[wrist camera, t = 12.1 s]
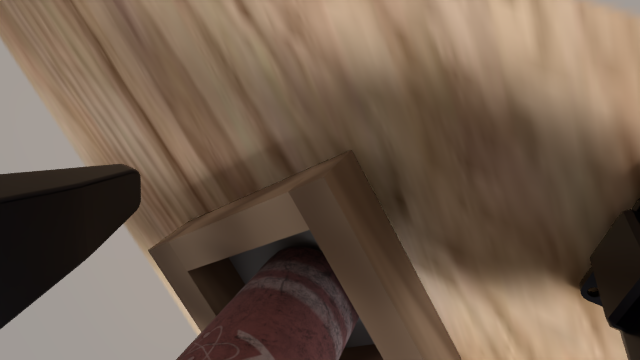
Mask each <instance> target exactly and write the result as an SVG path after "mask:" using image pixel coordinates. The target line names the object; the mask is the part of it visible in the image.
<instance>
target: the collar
mask: <svg viewBox="0 0 640 360" xmlns="http://www.w3.org/2000/svg"><path fill="white" fill-rule="evenodd" d="M290 247H312V248H315V249H318V250H321V251H322V252H323V254H324V256H325V257H326V259H327V261H328V263H329V264H330V266H331V268H332V270H333V271H334V273H335V275H336V277H337V278H338V280H339V282H340V284H341V285H342V287H343V289H344V291H345V293H346V294H347V296H348V298H349V300H350V301H351V303H352V305H353V307H354V308H355V310H356V312H357V314H358V315H359V319H358V321H357V323H356V325H355V327H354V329H353V331H352V333H351V335H350V337H349V339H348V341H347V343H346V345H345V348H344V350H343V352H342V354H341V356H340V358H339V360H461V357H460V355H459V353H458V351H457V350H456V348H455V346H454V344H453V342H452V340H451V338H450V336H449V334H448V332H447V331H446V329H445V327H444V325H443V323H442V321H441V319H440V317H439V315H438V313H437V312H436V310H435V308H434V306H433V304H432V302H431V300H430V298H429V296H428V294H427V293H426V291H425V289H424V287H423V285H422V283H421V281H420V279H419V277H418V276H417V274H416V272H415V270H414V268H413V266H412V264H411V262H410V260H409V258H408V257H407V255H406V253H405V251H404V249H403V247H402V245H401V243H400V241H399V239H398V238H397V236H396V234H395V232H394V230H393V228H392V226H391V224H390V222H389V220H388V219H387V217H386V215H385V213H384V211H383V209H382V207H381V205H380V203H379V202H378V200H377V198H376V196H375V194H374V192H373V190H372V188H371V186H370V184H369V183H368V181H367V179H366V177H365V175H364V173H363V171H362V169H361V167H360V165H359V164H358V162H357V160H356V158H355V156H354V154H353V152H352V150H350V151H348V152H345V153H343V154H341V155H339V156H336V157H334V158H332V159H330V160H327V161H325V162H323V163H321V164H318V165H316V166H314V167H311V168H309V169H307V170H305V171H302V172H300V173H298V174H296V175H293V176H291V177H289V178H287V179H284V180H282V181H280V182H277V183H275V184H273V185H271V186H268V187H266V188H264V189H262V190H259V191H257V192H255V193H253V194H250V195H248V196H246V197H243V198H241V199H239V200H237V201H234V202H232V203H230V204H228V205H225V206H223V207H221V208H219V209H216V210H214V211H212V212H209V213H207V214H205V215H203V216H200V217H198V218H196V219H194V220H191V221H189V222H187V223H186V224H184V225H183V226H181V227H180V228H179V229H177V230H176V231H174V232H173V233H172V234H170V235H169V236H167V237H166V238H165V239H163V240H162V241H160V242H159V243H158V244H156V245H155V246H153V247H152V248H151V249H149V250H148V251H149V253H150V254H151V256H152V257H153V259H154V260H155V262H156V263H157V265H158V266H159V268H160V270H161V271H162V273H163V274H164V276H165V277H166V279H167V280H168V282H169V283H170V285H171V286H172V288H173V289H174V291H175V292H176V294H177V295H178V297H179V298H180V300H181V301H182V303H183V305H184V306H185V308H186V309H187V311H188V312H189V314H190V315H191V317H192V318H193V320H194V321H195V323H196V324H197V326H198V327H199V329H200V330H201V332H202V331H203V330H204V329H205V328H206V327H207V326H208V325H209V324H210V323H211V321H212V320H213V319H214V318H215V317H216V316H217V315H218V314H219V313H220V312H221V311H222V310H223V309H224V307H225V306H226V305H227V304H228V303H229V302H230V301H231V300H232V299H233V298H234V297H235V296H236V294H237V293H238V292H239V291H240V290H241V289H242V288H243V287H244V286H245V285H246V284H247V283H248V281H249V280H250V279H251V278H252V277H253V276H254V275H255V274H256V273H257V272H258V271H259V270H260V268H261V267H262V266H263V265H264V264H265V263H266V262H267V261H268V260H269V259H270V258H271V257H272V256H273V255H274V254H276V253H277V252H278V251H280V250H283V249H286V248H290Z"/></svg>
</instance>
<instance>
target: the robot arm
mask: <svg viewBox="0 0 640 360" xmlns="http://www.w3.org/2000/svg"><path fill="white" fill-rule="evenodd" d="M140 202H141V181H140V174H139V172H138V171H137V170H136V169H134V168H131V167H129V166H127V165H124V164H113V165H102V166H90V167H79V168H68V169H56V170H45V171H33V172H21V173H10V174H0V329H1V328H2V327H4V326H5V325H6V324H7V323H8V322H10V321H11V320H12V319H13V318H15V317H16V316H17V315H18V314H20V313H21V312H22V311H23V310H24V309H26V308H27V307H28V306H29V305H31V304H32V303H33V302H34V301H36V300H37V299H38V298H39V297H41V296H42V295H43V294H44V293H46V292H47V291H48V290H49V289H50V288H52V287H53V286H54V285H55V284H57V283H58V282H59V281H60V280H62V279H63V278H64V277H65V276H66V275H68V274H69V273H70V272H71V271H73V270H74V269H75V268H76V267H78V266H79V265H80V264H81V263H82V262H83V261H85V260H86V259H87V258H88V257H89V256H90V255H91V254H92V253H94V252H95V250H97V249H98V248H99V247H100V246H101V245H102V244H103V243H104V242H105V241H106V240H107V239H108V238H109V237H110V236H111V235H112V234H113V233H114V232H115V231H116V230H117V229H118V228H119V227H120V226H121V225H122V224H123V223H124V222H125V221H126V220H127V219H128V218H129V217H130V216H131V215H132V214H133V213H134V212H135V211H136V210H137V209H138V207H139V205H140ZM590 261H591V265H592V267H591V268H590V269H589V271H588V272H587V274H586V275H585V276H584V278H583V279H582V281H581V282H580V285H579V286H580V291H581V295H582V296H583V298H585V299H586V300H588V301H590V302H593V303H595V304H598V305H600V306H602V307H603V309H604V313H605V317H606V319H607V322H608V324H609V326H610V327H612V328H614V329H616V330H619V331H620V333H621V337H622V340H623V344H624V347H625V350H626V354H627V357H628V360H640V198H639V200H638V201H637V203H636V204H635V206H634V207H633V208H632V209H629V210H626V211H623V212H621V214H620V215H619V217H618V218H617V220H616V221H615V222H614V224H613V225H612V227H611V228H610V230H609V231H608V233H607V234H606V235H605V237H604V238H603V240H602V241H601V243H600V244H599V246H598V247H597V248H596V250H595V251H594V253H593V254H592V256H591V257H590ZM593 287H595V288H598V291H595V292H592V291H589V290H588V289H589V288H593Z"/></svg>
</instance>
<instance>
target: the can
mask: <svg viewBox="0 0 640 360" xmlns="http://www.w3.org/2000/svg"><path fill="white" fill-rule="evenodd" d="M358 319H359V315H358V314H357V312H356V310H355V308H354V307H353V305H352V303H351V301H350V300H349V298H348V296H347V294H346V293H345V291H344V289H343V287H342V285H341V284H340V282H339V280H338V278H337V277H336V275H335V273H334V271H333V270H332V268H331V266H330V264H329V263H328V261H327V259H326V257H325V256H324V254H323V252H322V251H321V250H318V249H315V248H312V247H290V248H286V249H283V250H280V251H278V252H277V253H276V254H274V255H273V256H272V257H271V258H270V259H269V260H268V261H267V262H266V263H265V264H264V265H263V266H262V267H261V268H260V270H259V271H258V272H257V273H256V274H255V275H254V276H253V277H252V278H251V279H250V280H249V281H248V283H247V284H246V285H245V286H244V287H243V288H242V289H241V290H240V291H239V292H238V293H237V294H236V296H235V297H234V298H233V299H232V300H231V301H230V302H229V303H228V304H227V305H226V306H225V307H224V309H223V310H222V311H221V312H220V313H219V314H218V315H217V316H216V317H215V318H214V319H213V320H212V321H211V323H210V324H209V325H208V326H207V327H206V328H205V329H204V330H203V331H202V332H201V333H200V334H199V336H198V337H197V338H196V339H195V340H194V341H193V342H192V343H191V344H190V345H189V346H188V347H187V349H186V350H185V351H184V352H183V353H182V354H181V355H180V356H179V357H178V358H177V359H176V360H339V358H340V356H341V354H342V352H343V350H344V348H345V345H346V343H347V341H348V339H349V337H350V335H351V333H352V331H353V329H354V327H355V325H356V323H357V321H358Z"/></svg>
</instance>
